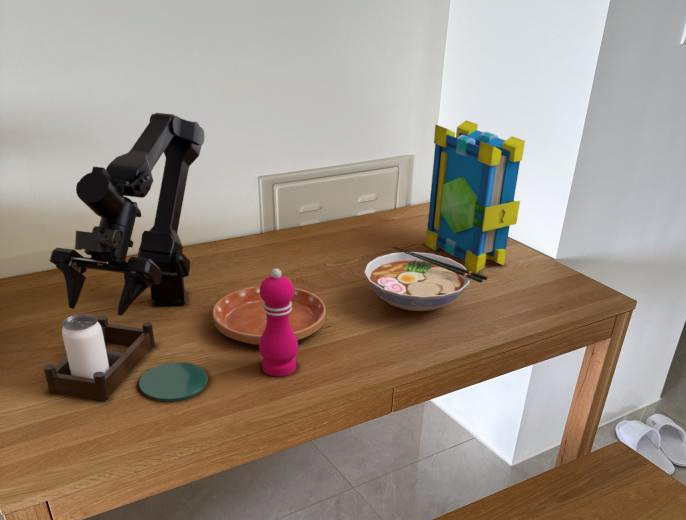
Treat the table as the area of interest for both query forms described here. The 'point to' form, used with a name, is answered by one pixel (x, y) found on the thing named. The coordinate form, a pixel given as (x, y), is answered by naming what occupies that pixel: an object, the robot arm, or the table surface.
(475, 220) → the decorative book
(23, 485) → the table surface
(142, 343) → the rack
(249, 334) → the saucer
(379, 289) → the ramen bowl
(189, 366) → the coaster
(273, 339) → the pepper mill
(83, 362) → the can
